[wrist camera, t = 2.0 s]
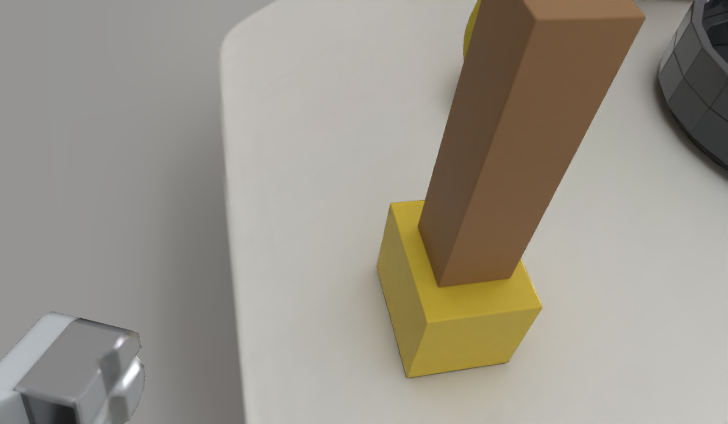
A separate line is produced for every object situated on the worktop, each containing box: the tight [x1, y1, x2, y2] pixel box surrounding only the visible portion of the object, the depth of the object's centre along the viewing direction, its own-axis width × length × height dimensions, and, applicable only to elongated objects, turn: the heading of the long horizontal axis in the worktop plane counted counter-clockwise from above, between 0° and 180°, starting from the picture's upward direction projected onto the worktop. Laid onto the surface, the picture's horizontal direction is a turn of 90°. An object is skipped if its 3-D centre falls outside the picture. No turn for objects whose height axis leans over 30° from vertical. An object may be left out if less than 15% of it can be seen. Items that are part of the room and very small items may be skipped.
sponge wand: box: [377, 0, 645, 378], centre depth 19 cm, size 5×4×14 cm
